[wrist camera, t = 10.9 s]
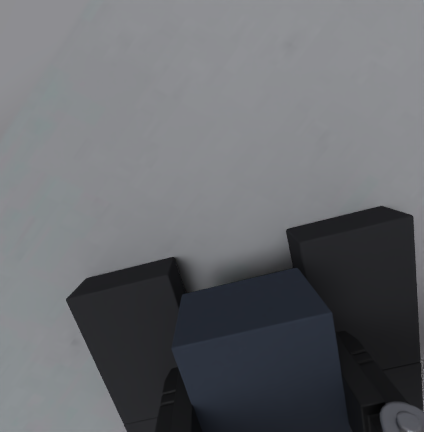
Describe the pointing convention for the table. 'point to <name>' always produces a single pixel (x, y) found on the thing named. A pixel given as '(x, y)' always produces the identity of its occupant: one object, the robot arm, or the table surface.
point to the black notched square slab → (301, 258)
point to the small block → (261, 357)
